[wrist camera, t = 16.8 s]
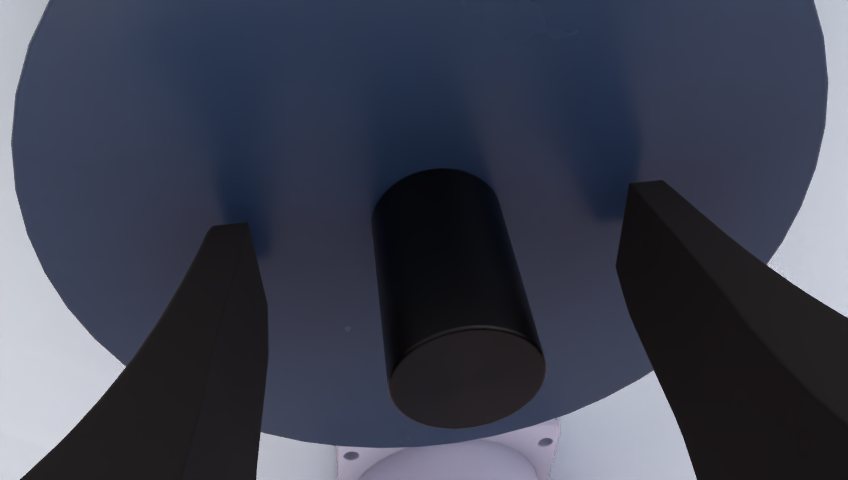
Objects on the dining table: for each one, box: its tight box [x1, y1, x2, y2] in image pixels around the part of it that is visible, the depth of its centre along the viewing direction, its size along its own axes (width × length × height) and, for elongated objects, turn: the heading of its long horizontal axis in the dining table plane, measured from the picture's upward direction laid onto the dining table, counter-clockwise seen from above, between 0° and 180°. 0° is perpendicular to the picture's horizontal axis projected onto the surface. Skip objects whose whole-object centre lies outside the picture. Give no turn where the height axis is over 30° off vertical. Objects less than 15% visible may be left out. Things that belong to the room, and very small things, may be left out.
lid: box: [11, 0, 828, 448], centre depth 14 cm, size 14×14×5 cm
